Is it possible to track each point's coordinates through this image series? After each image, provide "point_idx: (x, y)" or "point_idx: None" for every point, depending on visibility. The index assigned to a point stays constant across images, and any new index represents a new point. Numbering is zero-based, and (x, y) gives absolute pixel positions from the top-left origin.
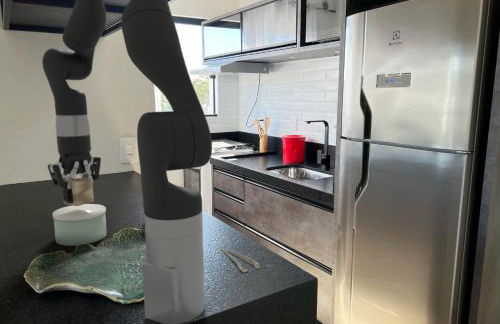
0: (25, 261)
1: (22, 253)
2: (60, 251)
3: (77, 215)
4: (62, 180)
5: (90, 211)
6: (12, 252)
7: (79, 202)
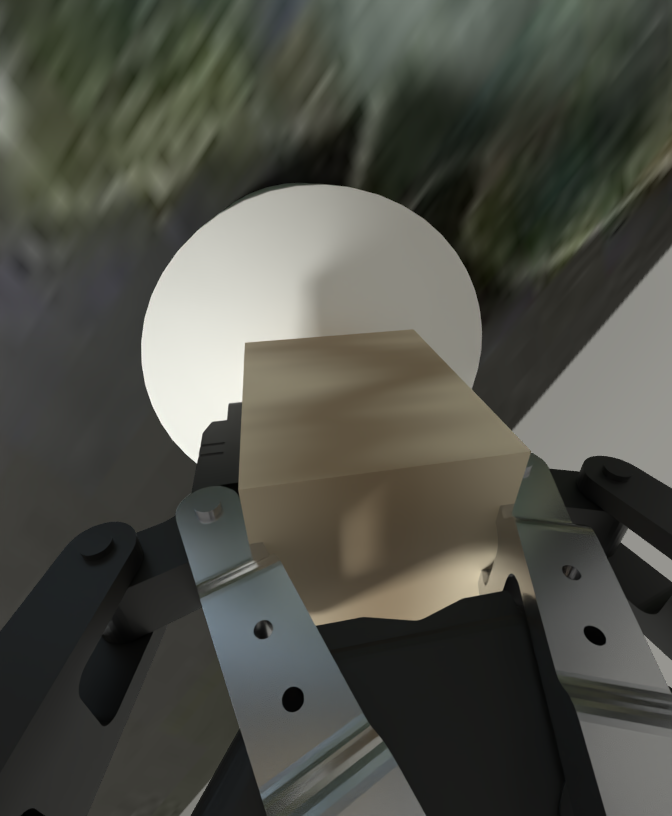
0: (586, 268)
1: (526, 351)
2: (474, 234)
3: (408, 292)
4: (667, 518)
5: (297, 297)
6: (526, 388)
7: (399, 340)
